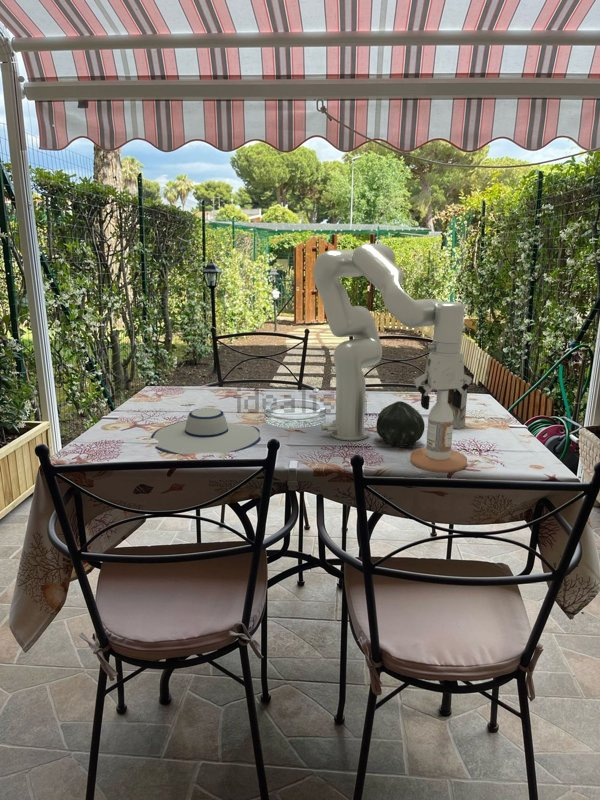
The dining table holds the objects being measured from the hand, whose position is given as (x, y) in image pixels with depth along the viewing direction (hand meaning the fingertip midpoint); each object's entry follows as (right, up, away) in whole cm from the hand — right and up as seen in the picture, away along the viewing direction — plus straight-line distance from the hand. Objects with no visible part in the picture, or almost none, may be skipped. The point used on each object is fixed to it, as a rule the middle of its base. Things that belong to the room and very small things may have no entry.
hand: (440, 407), depth 157 cm
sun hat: (-70, -11, +25) cm, 76 cm away
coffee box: (+13, -7, +38) cm, 41 cm away
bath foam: (0, -15, +4) cm, 15 cm away
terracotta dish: (0, -16, +4) cm, 16 cm away
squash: (-8, -12, +20) cm, 24 cm away
